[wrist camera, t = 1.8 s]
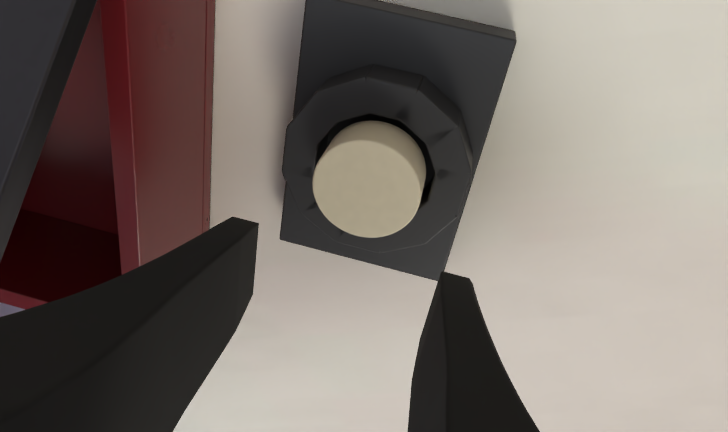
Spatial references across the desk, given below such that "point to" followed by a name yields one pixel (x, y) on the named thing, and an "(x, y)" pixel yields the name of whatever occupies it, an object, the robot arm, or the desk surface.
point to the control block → (393, 117)
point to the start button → (370, 179)
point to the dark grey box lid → (32, 87)
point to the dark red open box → (119, 153)
